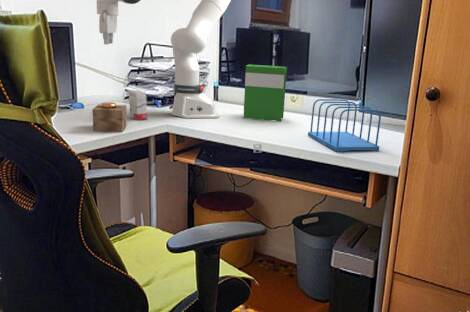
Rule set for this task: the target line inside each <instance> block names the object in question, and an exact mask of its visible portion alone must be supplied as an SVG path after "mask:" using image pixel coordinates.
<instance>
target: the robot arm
mask: <svg viewBox="0 0 470 312" xmlns="http://www.w3.org/2000/svg"><path fill="white" fill-rule="evenodd" d="M140 1H141V0H96V14H97V15H99V18H98V19H99V20H98V21H99V22H98V23H99V24H98V27H99V28H98V31H99V33H100V34H102V39H103V44H104V45H106V46H107V45H109V44H113V43H114V41H113V39H114V34H115V33H117V28H118V27H117V26H118V24H117V23H118V16H119V2H122V3H123V4H128V5H135V4H139V3H140ZM231 1H232V0H200V2H199V3H198V5H197V6H196V8H195V9H194V10H193V13H192V16H191V18H190V20H189V22H188V24H187V26H186V27H182V28H181V27H180V28H178V29H176V30H175V31H174V32H173V33H172V34H171V37H170V44H171V46H172V54H173V60H174V84H173V96H174V99H173V105H172V108H171V109H172V110H171V113H170V114H171V115H172V116H175V117H181V118H182V119H217V118H219V117H220V112H219V111H217V110H216V106H215V103H214V101H213V100H212V99H211V98H210V97H209V96H207V95H206V94H205V93H204V91H205V87H204V86H203V85H201V84H200V66H199V63H198V58H197V54H200V53H201V52H203V51H204V50H205V48H206V45H207V41H208V39H209V38H210V37H209V36H210V35H211V32H212V31H213V29H214V27H215V25H216V24H217V23H218V21H219V19H221V18H222V16H223V15H224V13H225V12H226V10H227V8H228V6H229V4H230V3H231Z"/></svg>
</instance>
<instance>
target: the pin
mask: <svg viewBox="0 0 470 312" xmlns="http://www.w3.org/2000/svg"><path fill="white" fill-rule="evenodd" d="M116 105H117V104H116V103H115V102H101V107H102V108H116Z"/></svg>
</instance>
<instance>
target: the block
mask: <svg viewBox="0 0 470 312" xmlns="http://www.w3.org/2000/svg"><path fill="white" fill-rule="evenodd" d="M127 116H128V115H127V104H125V105H124V104H116V108H102V107H101V104H97V105H96V106H95V107H94V108H93V109H92V131H93V132H105V133H106V132H109V133H110V132H111V133H124V130H125V129H126V128H127V126H128V118H127Z"/></svg>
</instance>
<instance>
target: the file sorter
mask: <svg viewBox="0 0 470 312" xmlns="http://www.w3.org/2000/svg"><path fill="white" fill-rule="evenodd" d="M319 101H320V102H321V101H322V103H321V104H320V105H319V107H318V115H317V124H316V125H317V126H316V131H313V125H314V124H313V123H314V114H315V107H316V103H317V102H319ZM324 104H329V105H327V107H326V108H325V112H324V113H325V114H324V123H323V131H319V129H320V128H319V127H320V120H321V119H320V118H321V111H322V110H321V109H322V106H323V105H324ZM332 106H337V107H335V108H334V109H333V111H332V114H331V122H330V123H331V124H330V130H329V131H326V128H327V127H326V126H327V118H328V117H327V116H328V110H329V108H330V107H332ZM338 109H343V110H342V111H341V112H340V114H339V121H338V128H337V131H333V129H334V128H333V126H334V118H335V117H334V116H335V113H336V111H337V110H338ZM351 111H353V112H354V115H353V116H354V117H353V124H352V132H351V133H350V132H348V126H349V125H348V124H349V117H350V112H351ZM359 111H360V112H362V115H361V116H362V117H361V125H360V130H359V131H360V132H359V136H357V135H355V126H356V121H357V112H359ZM345 112H347V113H346V114H347V115H346V122H345V131H341V126H342V125H341V124H342V116H343V114H344V113H345ZM365 112H369V113H370V115H369V116H370V118H369V124H368V131H367V140H366V139H364V138H362V133H363V127H364V125H363V124H364V119H365ZM373 112H377V113H378V121H377V122H378V123H377V131H376V135H375V143H373V142H370V136H371V127H372V121H373ZM381 119H382V115H381V112H380V111H379V110H378V109H375V108H374V109H373V108H370V107H368V106H364V105H362V104H359V103H355V102H353V101H349V100H347V99H344V98H343V99H342V98H341V99H339V98H338V99H337V98H333V99H332V98H318V99H316V100H315V101H314V102H313V104H312V111H311V119H310V120H311V121H310V131H308V132H307V136H308V137H309V136H310V138H311V137H312V138H311V139H313V138H314V139H313V140H315V141H317V142H318V141H319V142H318V143H320V142H321V143H320V144H322V143H323V144H322V145H324V144H325V145H324V146H326V145H327V146H328V147H327V146H326V147H327V148H329V147H330V148H329V149H331V148H332V149H331V150H333V149H334V150H333V151H334V152H350V151H349V150H379V151H380V145H378V142H379V141H378V140H379V136H380V135H379V134H380V127H381V121H382V120H381Z"/></svg>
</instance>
